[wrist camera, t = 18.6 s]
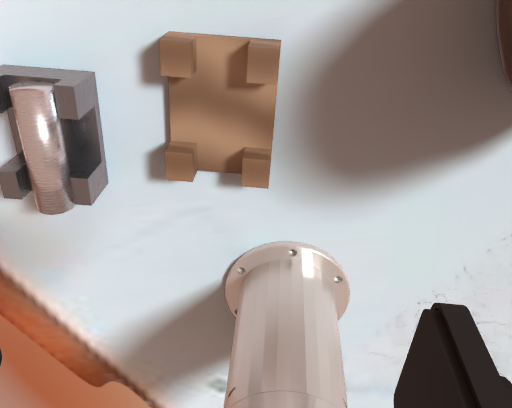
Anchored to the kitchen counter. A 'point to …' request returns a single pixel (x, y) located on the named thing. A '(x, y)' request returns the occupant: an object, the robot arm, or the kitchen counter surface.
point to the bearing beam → (220, 104)
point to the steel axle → (43, 145)
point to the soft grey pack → (505, 36)
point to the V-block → (74, 131)
